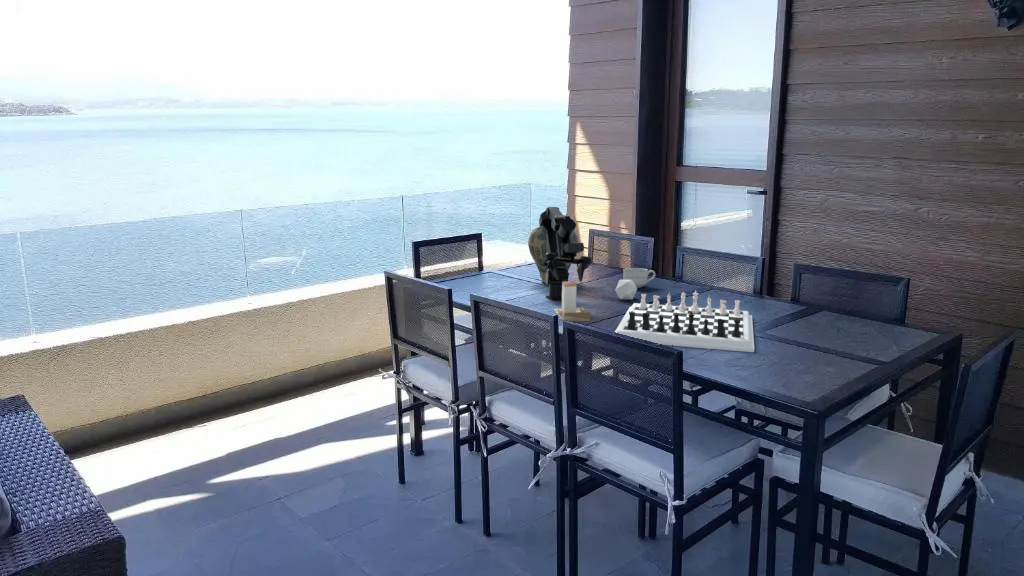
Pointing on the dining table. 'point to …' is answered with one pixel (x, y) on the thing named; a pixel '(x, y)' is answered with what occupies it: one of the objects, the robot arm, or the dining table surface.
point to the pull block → (569, 296)
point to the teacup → (637, 276)
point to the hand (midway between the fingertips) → (569, 280)
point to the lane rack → (574, 315)
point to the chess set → (689, 325)
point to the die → (626, 289)
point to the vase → (542, 249)
